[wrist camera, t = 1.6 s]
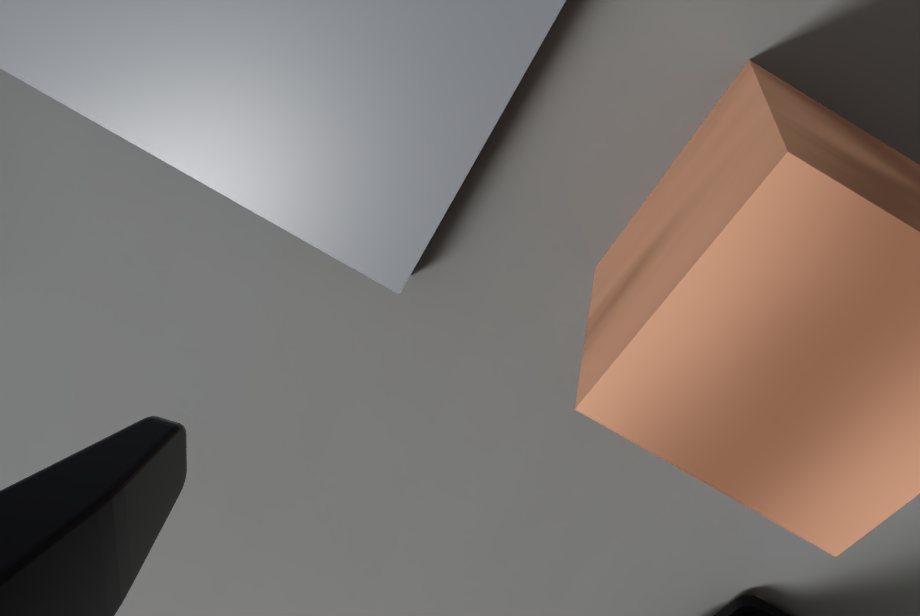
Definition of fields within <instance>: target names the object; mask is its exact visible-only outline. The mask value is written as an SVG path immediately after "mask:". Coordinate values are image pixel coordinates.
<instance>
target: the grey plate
mask: <svg viewBox="0 0 920 616" xmlns="http://www.w3.org/2000/svg"><path fill="white" fill-rule="evenodd" d="M565 2H566V0H0V69H2V70H4V71H6V72H7V73H9V74H11V75H13V76H15V77H16V78H18V79H20V80H22V81H23V82H25V83H27V84H29V85H30V86H32V87H34V88H36V89H37V90H39V91H41V92H43V93H44V94H46V95H48V96H50V97H52V98H53V99H55V100H57V101H59V102H60V103H62V104H64V105H66V106H67V107H69V108H71V109H73V110H74V111H76V112H78V113H80V114H81V115H83V116H85V117H87V118H89V119H90V120H92V121H94V122H96V123H97V124H99V125H101V126H103V127H104V128H106V129H108V130H110V131H111V132H113V133H115V134H117V135H119V136H120V137H122V138H124V139H126V140H127V141H129V142H131V143H133V144H134V145H136V146H138V147H140V148H141V149H143V150H145V151H147V152H148V153H150V154H152V155H154V156H156V157H157V158H159V159H161V160H163V161H164V162H166V163H168V164H170V165H171V166H173V167H175V168H177V169H178V170H180V171H182V172H184V173H186V174H187V175H189V176H191V177H193V178H194V179H196V180H198V181H200V182H201V183H203V184H205V185H207V186H208V187H210V188H212V189H214V190H215V191H217V192H219V193H221V194H223V195H224V196H226V197H228V198H230V199H231V200H233V201H235V202H237V203H238V204H240V205H242V206H244V207H245V208H247V209H249V210H251V211H252V212H254V213H256V214H258V215H260V216H261V217H263V218H265V219H267V220H268V221H270V222H272V223H274V224H275V225H277V226H279V227H281V228H282V229H284V230H286V231H288V232H290V233H291V234H293V235H295V236H297V237H298V238H300V239H302V240H304V241H305V242H307V243H309V244H311V245H312V246H314V247H316V248H318V249H319V250H321V251H323V252H325V253H327V254H328V255H330V256H332V257H334V258H335V259H337V260H339V261H341V262H342V263H344V264H346V265H348V266H349V267H351V268H353V269H355V270H356V271H358V272H360V273H362V274H364V275H365V276H367V277H369V278H371V279H372V280H374V281H376V282H378V283H379V284H381V285H383V286H385V287H386V288H388V289H390V290H392V291H394V292H395V293H397V294H400V293H401V291H402V289H403V287H404V286H405V284H406V282H407V280H408V279H409V277H410V275H411V273H412V272H413V270H414V268H415V266H416V265H417V263H418V261H419V259H420V258H421V256H422V254H423V252H424V250H425V249H426V247H427V245H428V243H429V242H430V240H431V238H432V236H433V235H434V233H435V231H436V229H437V228H438V226H439V224H440V222H441V220H442V219H443V217H444V215H445V213H446V212H447V210H448V208H449V206H450V205H451V203H452V201H453V199H454V198H455V196H456V194H457V192H458V190H459V189H460V187H461V185H462V183H463V182H464V180H465V178H466V176H467V175H468V173H469V171H470V169H471V168H472V166H473V164H474V162H475V161H476V159H477V157H478V155H479V153H480V152H481V150H482V148H483V146H484V145H485V143H486V141H487V139H488V138H489V136H490V134H491V132H492V131H493V129H494V127H495V125H496V123H497V122H498V120H499V118H500V116H501V115H502V113H503V111H504V109H505V108H506V106H507V104H508V102H509V101H510V99H511V97H512V95H513V93H514V92H515V90H516V88H517V86H518V85H519V83H520V81H521V79H522V78H523V76H524V74H525V72H526V71H527V69H528V67H529V65H530V63H531V62H532V60H533V58H534V56H535V55H536V53H537V51H538V49H539V48H540V46H541V44H542V42H543V41H544V39H545V37H546V35H547V33H548V32H549V30H550V28H551V26H552V25H553V23H554V21H555V19H556V18H557V16H558V14H559V12H560V11H561V9H562V7H563V5H564V3H565Z"/></svg>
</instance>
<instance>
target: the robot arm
mask: <svg viewBox="0 0 920 616" xmlns="http://www.w3.org/2000/svg"><path fill="white" fill-rule="evenodd" d="M186 471H187V459H186V430H185V428H184V426H183V425H181V424H180V423H177V422H174V421H170V420H167V419H164V418H160V417H156V416H151V417H147V418H144V419H142V420H140V421H138V422H136V423H134V424H132V425H130V426H128V427H126V428H124V429H122V430H120V431H118V432H116V433H115V434H113V435H111V436H109V437H107V438H105V439H103V440H101V441H99V442H97V443H95V444H93V445H91V446H89V447H87V448H85V449H83V450H81V451H79V452H77V453H75V454H73V455H71V456H69V457H67V458H65V459H63V460H61V461H59V462H57V463H55V464H53V465H51V466H49V467H47V468H45V469H43V470H41V471H39V472H37V473H35V474H33V475H31V476H29V477H27V478H25V479H23V480H21V481H19V482H17V483H15V484H13V485H11V486H9V487H7V488H5V489H3V490H1V491H0V616H114V615H115V613H116V612H117V610H118V609H119V607H120V606H121V604H122V602H123V600H124V599H125V597H126V595H127V593H128V591H129V590H130V588H131V586H132V584H133V582H134V580H135V578H136V576H137V574H138V573H139V571H140V569H141V567H142V565H143V563H144V561H145V559H146V557H147V555H148V553H149V552H150V550H151V548H152V546H153V544H154V542H155V540H156V538H157V536H158V534H159V533H160V531H161V529H162V527H163V525H164V523H165V521H166V519H167V517H168V515H169V513H170V512H171V510H172V508H173V506H174V504H175V502H176V500H177V498H178V496H179V494H180V492H181V490H182V488H183V485H184V482H185V479H186ZM748 611H752V612H748ZM715 616H791V615H789V614H787V613H786V612H784V611H782V610H780V609H778V608H777V607H775V606H773V605H771V604H769V603H768V602H766V601H764V600H762V599H760V598H758V597H755V596H749V595H746V596H740V597H738V598H737V599H735V600H734V601H732V602H731V603H730V604H729V605H727V606H726V607H725V608H724V609H722V610H721V611H720V612H719V613H717V614H716V615H715Z"/></svg>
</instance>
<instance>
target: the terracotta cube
mask: <svg viewBox="0 0 920 616" xmlns="http://www.w3.org/2000/svg"><path fill="white" fill-rule="evenodd" d="M575 410H577V411H579V412H580V413H582V414H584V415H586V416H588V417H589V418H591V419H593V420H595V421H596V422H598V423H600V424H602V425H603V426H605V427H607V428H609V429H611V430H612V431H614V432H616V433H618V434H619V435H621V436H623V437H625V438H626V439H628V440H630V441H632V442H633V443H635V444H637V445H639V446H641V447H642V448H644V449H646V450H648V451H649V452H651V453H653V454H655V455H656V456H658V457H660V458H662V459H664V460H665V461H667V462H669V463H671V464H672V465H674V466H676V467H678V468H679V469H681V470H683V471H685V472H687V473H688V474H690V475H692V476H694V477H695V478H697V479H699V480H701V481H702V482H704V483H706V484H708V485H709V486H711V487H713V488H715V489H717V490H718V491H720V492H722V493H724V494H725V495H727V496H729V497H731V498H732V499H734V500H736V501H738V502H740V503H741V504H743V505H745V506H747V507H748V508H750V509H752V510H754V511H755V512H757V513H759V514H761V515H763V516H764V517H766V518H768V519H770V520H771V521H773V522H775V523H777V524H778V525H780V526H782V527H784V528H785V529H787V530H789V531H791V532H793V533H794V534H796V535H798V536H800V537H801V538H803V539H805V540H807V541H808V542H810V543H812V544H814V545H816V546H817V547H819V548H821V549H823V550H824V551H826V552H828V553H830V554H831V555H833V556H835V557H837V556H838V555H839V554H841V553H842V552H843V551H845V550H846V549H847V548H848V547H850V546H851V545H852V544H854V543H855V542H856V541H858V540H859V539H860V538H862V537H863V536H864V535H866V534H867V533H868V532H870V531H871V530H872V529H874V528H875V527H876V526H878V525H879V524H880V523H881V522H883V521H884V520H885V519H887V518H888V517H889V516H891V515H892V514H893V513H895V512H896V511H897V510H899V509H900V508H901V507H903V506H904V505H905V504H907V503H908V502H909V501H910V500H912V499H913V498H914V497H916V496H917V495H918V494H920V165H919V164H918V163H916V162H914V161H913V160H911V159H909V158H908V157H906V156H905V155H903V154H901V153H900V152H898V151H897V150H895V149H893V148H892V147H890V146H888V145H887V144H885V143H884V142H882V141H880V140H879V139H877V138H875V137H874V136H872V135H871V134H869V133H867V132H866V131H864V130H862V129H861V128H859V127H858V126H856V125H854V124H853V123H851V122H849V121H848V120H846V119H845V118H843V117H841V116H840V115H838V114H836V113H835V112H833V111H832V110H830V109H828V108H827V107H825V106H824V105H822V104H820V103H819V102H817V101H815V100H814V99H812V98H811V97H809V96H807V95H806V94H804V93H802V92H801V91H799V90H798V89H796V88H794V87H793V86H791V85H789V84H788V83H786V82H785V81H783V80H781V79H780V78H778V77H776V76H775V75H773V74H772V73H770V72H768V71H767V70H765V69H763V68H762V67H760V66H759V65H757V64H755V63H754V62H752V61H750V60H748V62H747V63H746V64H745V66H744V67H743V69H742V70H741V71H740V73H739V74H738V75H737V77H736V78H735V79H734V81H733V82H732V83H731V85H730V86H729V87H728V89H727V90H726V92H725V93H724V94H723V96H722V97H721V98H720V100H719V101H718V102H717V104H716V105H715V106H714V108H713V109H712V111H711V112H710V113H709V115H708V116H707V117H706V119H705V120H704V121H703V123H702V124H701V125H700V127H699V128H698V130H697V131H696V132H695V134H694V135H693V136H692V138H691V139H690V140H689V142H688V143H687V144H686V146H685V147H684V148H683V150H682V151H681V153H680V154H679V155H678V157H677V158H676V159H675V161H674V162H673V163H672V165H671V166H670V167H669V169H668V170H667V172H666V173H665V174H664V176H663V177H662V178H661V180H660V181H659V182H658V184H657V185H656V186H655V188H654V189H653V191H652V192H651V193H650V195H649V196H648V197H647V199H646V200H645V201H644V203H643V204H642V205H641V207H640V208H639V210H638V211H637V212H636V214H635V215H634V216H633V218H632V219H631V220H630V222H629V223H628V224H627V226H626V227H625V228H624V230H623V231H622V233H621V234H620V235H619V237H618V238H617V239H616V241H615V242H614V243H613V245H612V246H611V247H610V249H609V250H608V252H607V253H606V254H605V256H604V257H603V258H602V260H601V261H600V262H599V264H598V265H597V266H596V269H595V276H594V283H593V289H592V296H591V303H590V310H589V316H588V323H587V330H586V337H585V343H584V350H583V357H582V364H581V370H580V377H579V384H578V391H577V398H576V404H575Z"/></svg>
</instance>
